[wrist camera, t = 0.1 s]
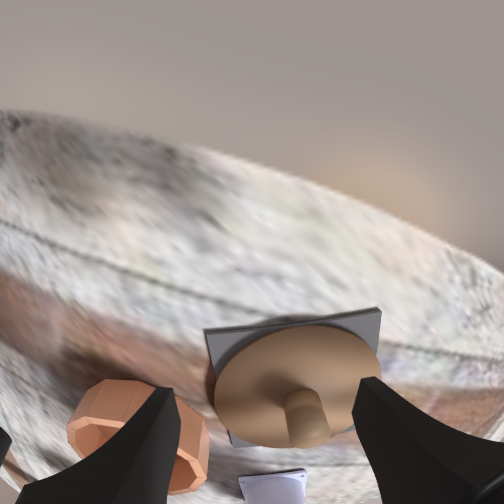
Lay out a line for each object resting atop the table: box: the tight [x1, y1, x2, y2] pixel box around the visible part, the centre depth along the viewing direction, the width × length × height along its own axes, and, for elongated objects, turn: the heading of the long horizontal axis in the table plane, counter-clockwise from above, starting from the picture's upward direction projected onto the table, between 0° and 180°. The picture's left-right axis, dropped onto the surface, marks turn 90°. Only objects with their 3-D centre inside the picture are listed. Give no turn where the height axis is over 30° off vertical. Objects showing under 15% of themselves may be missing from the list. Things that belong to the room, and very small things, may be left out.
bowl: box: [67, 379, 210, 495], centre depth 20 cm, size 13×13×5 cm
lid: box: [214, 325, 381, 449], centre depth 19 cm, size 14×14×5 cm
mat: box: [206, 309, 382, 448], centre depth 21 cm, size 14×13×1 cm
